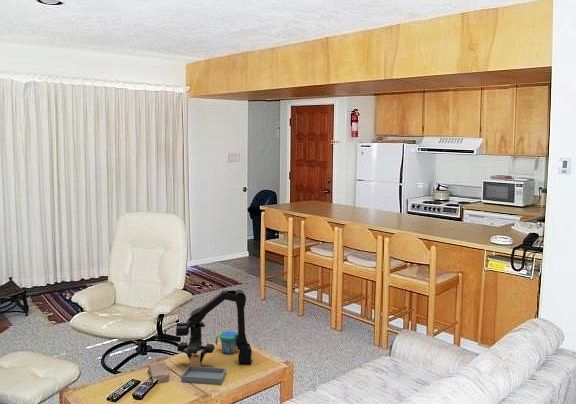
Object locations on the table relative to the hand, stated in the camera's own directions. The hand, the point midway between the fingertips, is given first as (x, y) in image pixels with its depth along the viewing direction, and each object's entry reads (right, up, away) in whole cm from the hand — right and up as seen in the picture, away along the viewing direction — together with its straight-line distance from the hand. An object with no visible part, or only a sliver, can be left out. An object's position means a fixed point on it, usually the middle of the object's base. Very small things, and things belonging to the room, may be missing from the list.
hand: (196, 363), depth 277 cm
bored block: (0, -1, 0) cm, 1 cm away
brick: (-17, -3, -12) cm, 21 cm away
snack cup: (+15, 0, +20) cm, 25 cm away
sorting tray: (+6, -3, -14) cm, 15 cm away
